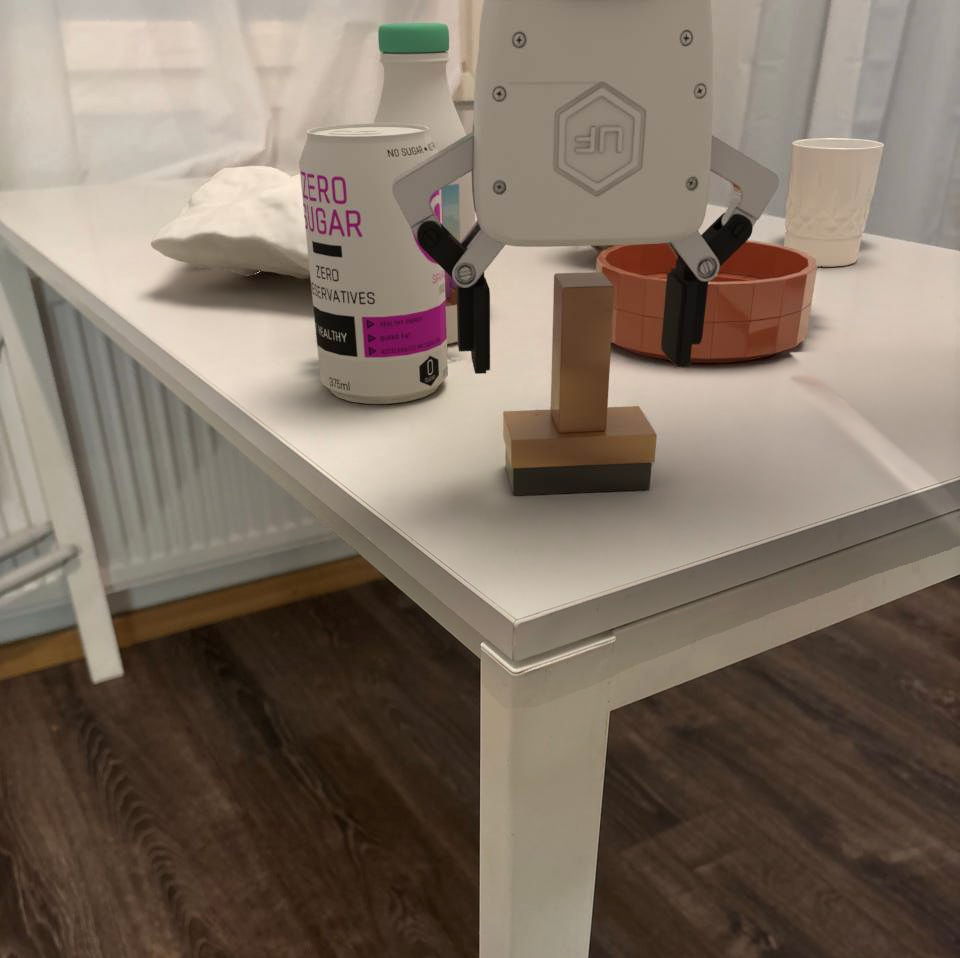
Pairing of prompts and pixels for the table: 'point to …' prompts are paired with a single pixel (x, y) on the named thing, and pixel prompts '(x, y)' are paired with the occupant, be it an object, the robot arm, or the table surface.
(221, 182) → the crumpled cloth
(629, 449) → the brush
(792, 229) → the white cup
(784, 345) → the bowl
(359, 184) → the supplement can
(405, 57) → the milk bottle
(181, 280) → the table surface
